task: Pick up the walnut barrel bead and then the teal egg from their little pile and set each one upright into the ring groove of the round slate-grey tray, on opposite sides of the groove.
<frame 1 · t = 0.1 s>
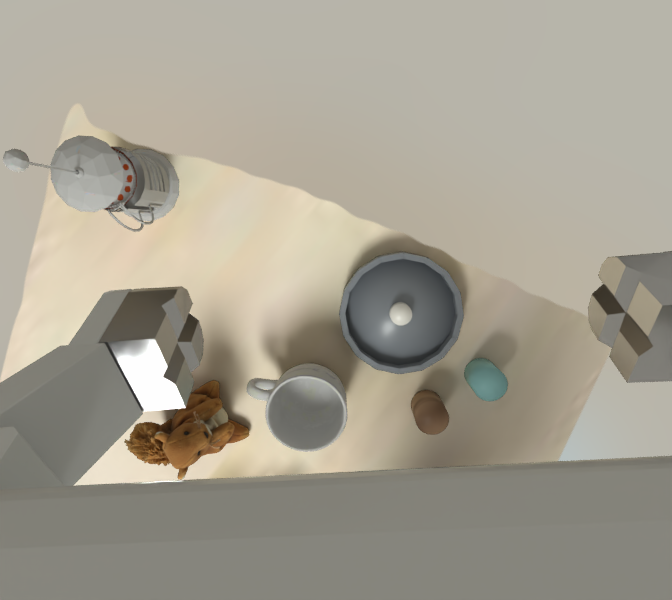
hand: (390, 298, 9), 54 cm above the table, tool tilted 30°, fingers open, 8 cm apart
teacup: (302, 386, 67), on the table
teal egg: (480, 373, 65), on the table
groove tray: (399, 311, 64), on the table
stuffed squirrel: (200, 419, 68), on the table
walnut bead: (426, 404, 66), on the table
french press: (148, 191, 63), on the table
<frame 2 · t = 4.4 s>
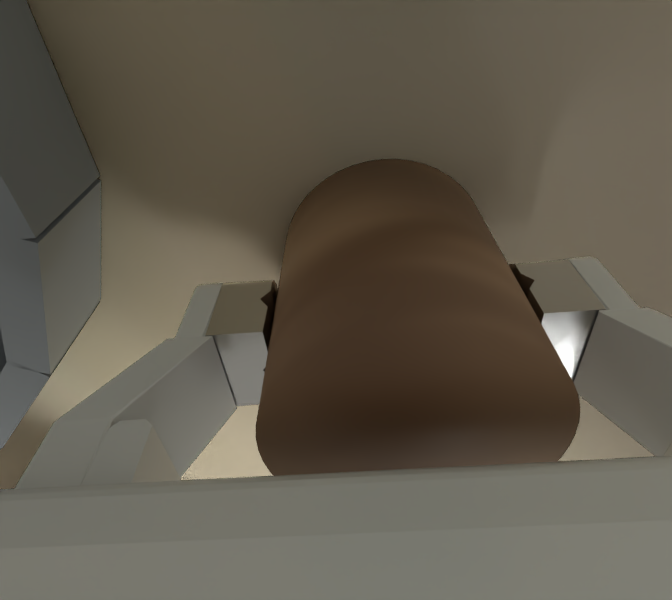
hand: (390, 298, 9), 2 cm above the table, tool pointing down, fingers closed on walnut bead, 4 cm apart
walnut bead: (383, 254, 10), on the table, touching gripper
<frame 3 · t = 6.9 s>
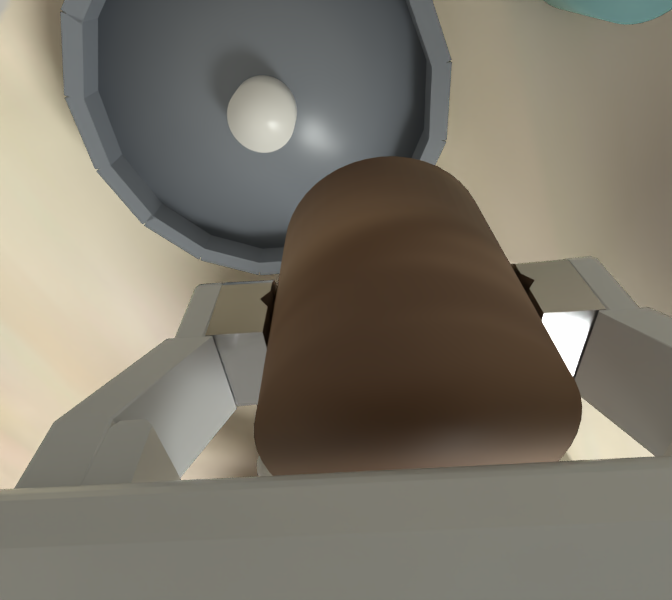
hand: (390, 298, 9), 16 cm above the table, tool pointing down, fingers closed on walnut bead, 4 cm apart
groove tray: (267, 104, 22), on the table
walnut bead: (383, 253, 10), point 15 cm above the table, touching gripper
when the fingers open (4 cm above the table, at t = 9.4 s): walnut bead stays where it is, resting on groove tray.
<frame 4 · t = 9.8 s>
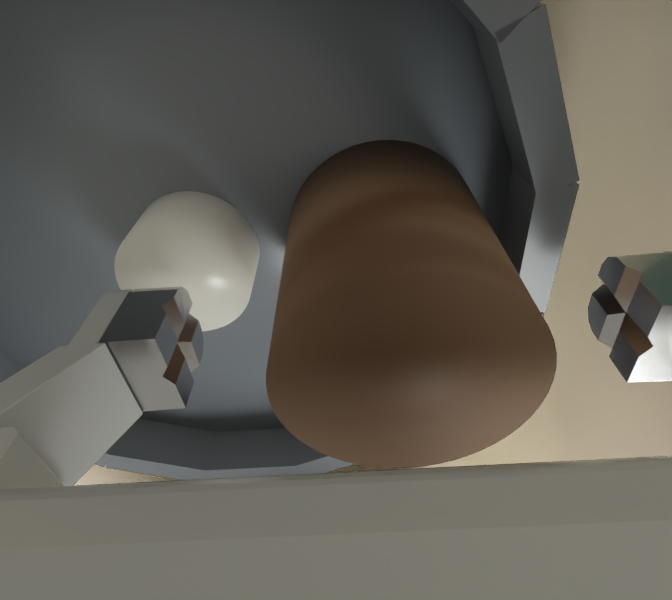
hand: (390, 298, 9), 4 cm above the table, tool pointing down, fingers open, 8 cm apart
groove tray: (208, 227, 12), on the table
walnut bead: (381, 231, 11), point 1 cm above the table, touching groove tray
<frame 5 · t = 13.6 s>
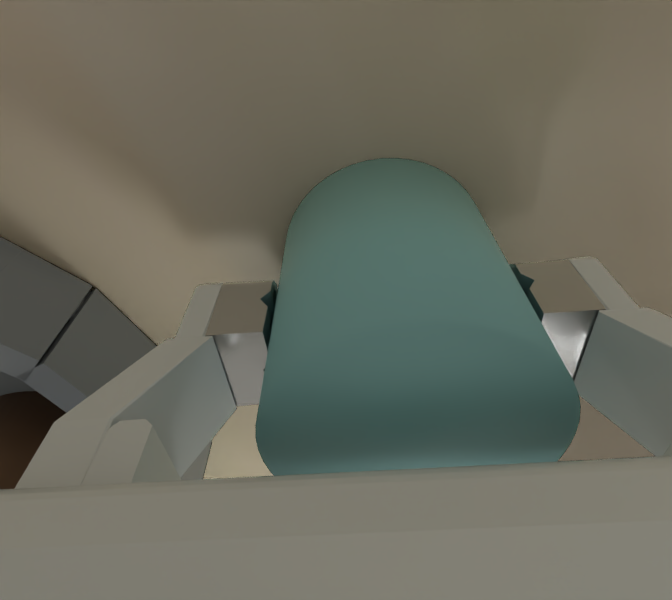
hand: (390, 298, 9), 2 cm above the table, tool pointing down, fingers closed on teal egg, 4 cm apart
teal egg: (383, 254, 10), on the table, touching gripper
walnut bead: (63, 442, 13), point 1 cm above the table, touching groove tray
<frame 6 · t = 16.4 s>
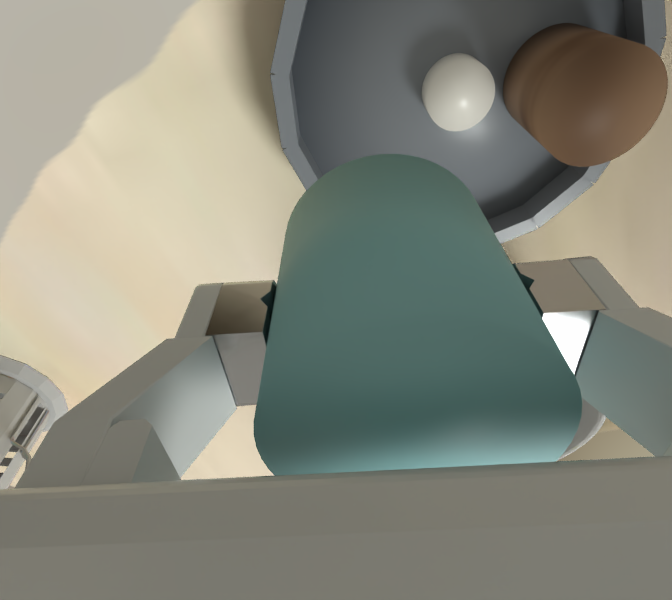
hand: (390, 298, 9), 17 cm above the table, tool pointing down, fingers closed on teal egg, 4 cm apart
teacup: (458, 344, 33), on the table
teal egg: (383, 251, 10), point 15 cm above the table, touching gripper
groove tray: (449, 83, 22), on the table
walnut bead: (552, 79, 21), point 1 cm above the table, touching groove tray
french press: (15, 393, 36), on the table
when the fingers open (4 cm above the table, at t = 19.1 s): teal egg stays where it is, resting on groove tray.
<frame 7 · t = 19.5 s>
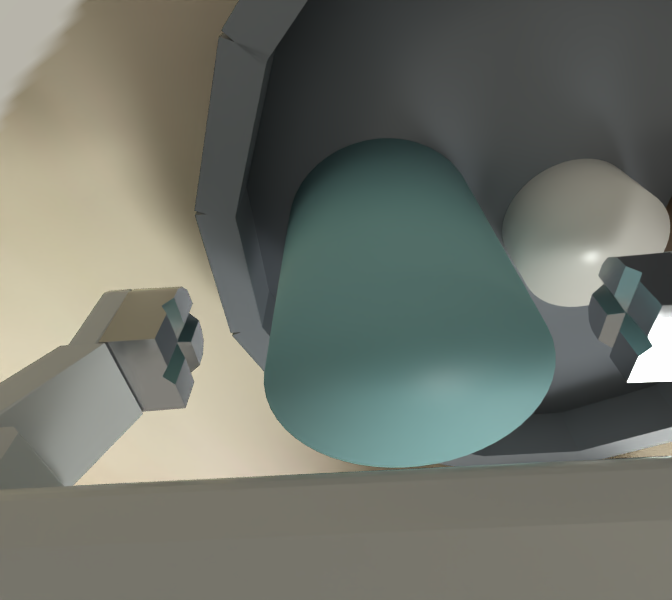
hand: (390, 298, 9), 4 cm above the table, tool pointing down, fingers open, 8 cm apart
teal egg: (380, 230, 11), point 1 cm above the table, touching groove tray
groove tray: (549, 201, 12), on the table
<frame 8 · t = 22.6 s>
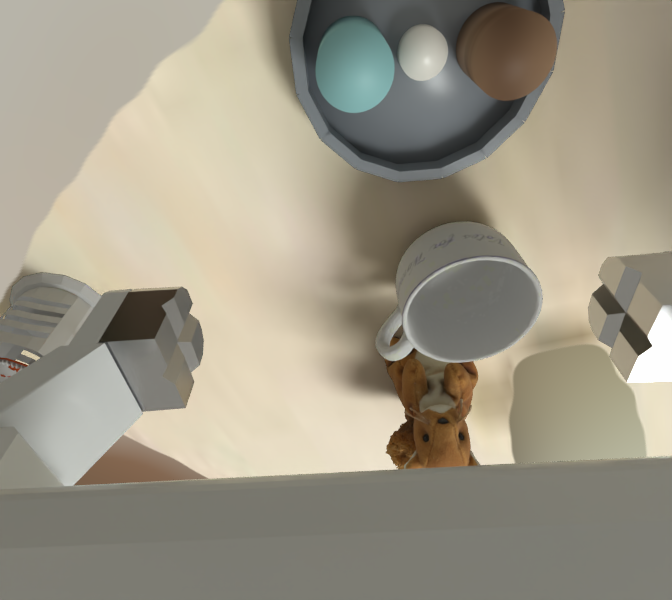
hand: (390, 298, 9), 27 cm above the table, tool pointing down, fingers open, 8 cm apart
teacup: (434, 266, 41), on the table
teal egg: (352, 55, 30), point 1 cm above the table, touching groove tray
groove tray: (418, 48, 30), on the table
stuffed squirrel: (425, 368, 50), on the table
walnut bead: (490, 43, 29), point 1 cm above the table, touching groove tray
french press: (73, 312, 44), on the table
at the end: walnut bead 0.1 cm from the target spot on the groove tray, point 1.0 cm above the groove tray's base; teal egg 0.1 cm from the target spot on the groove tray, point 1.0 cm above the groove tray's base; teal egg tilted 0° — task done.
